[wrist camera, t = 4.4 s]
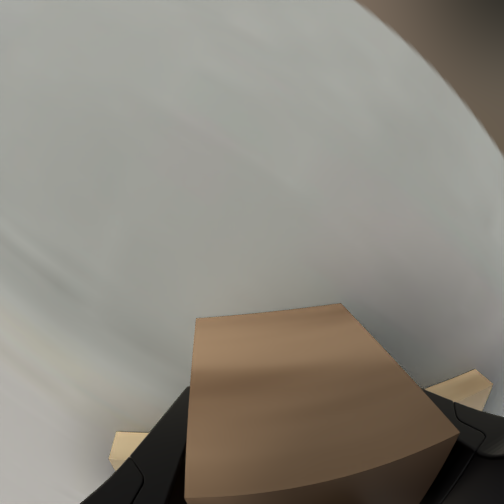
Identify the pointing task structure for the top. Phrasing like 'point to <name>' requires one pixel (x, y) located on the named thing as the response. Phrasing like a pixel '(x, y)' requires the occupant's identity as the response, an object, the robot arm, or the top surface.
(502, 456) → the robot arm
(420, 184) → the top surface
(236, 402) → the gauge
